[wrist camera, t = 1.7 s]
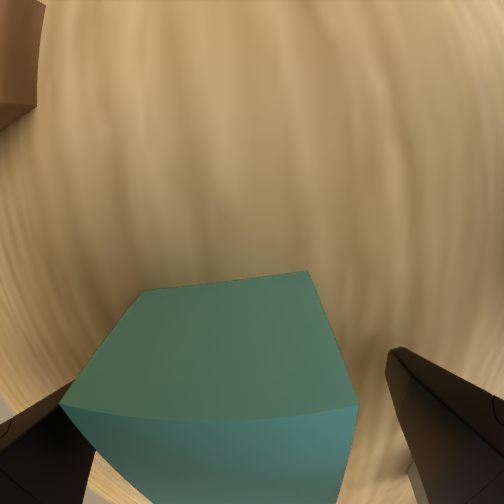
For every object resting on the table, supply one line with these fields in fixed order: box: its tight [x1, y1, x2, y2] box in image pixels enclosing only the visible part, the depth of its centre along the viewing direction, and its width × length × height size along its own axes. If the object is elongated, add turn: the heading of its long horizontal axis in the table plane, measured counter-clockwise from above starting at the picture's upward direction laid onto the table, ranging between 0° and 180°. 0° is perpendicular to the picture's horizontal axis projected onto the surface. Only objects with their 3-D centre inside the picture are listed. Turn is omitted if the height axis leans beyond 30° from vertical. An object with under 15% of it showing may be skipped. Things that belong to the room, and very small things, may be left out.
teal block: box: [59, 271, 359, 504], centre depth 6 cm, size 5×5×5 cm
